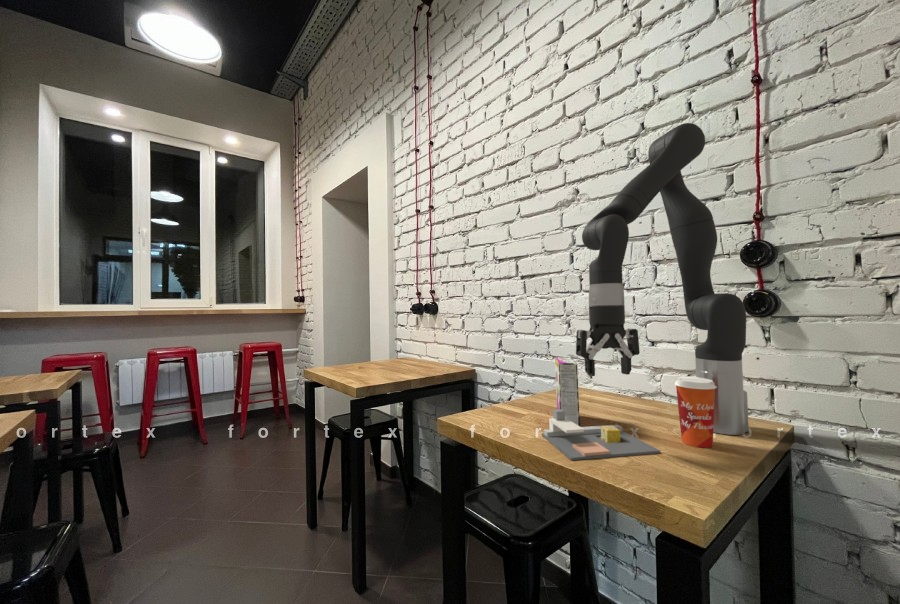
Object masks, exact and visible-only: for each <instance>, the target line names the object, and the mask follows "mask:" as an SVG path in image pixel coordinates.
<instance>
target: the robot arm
mask: <svg viewBox="0 0 900 604" xmlns="http://www.w3.org/2000/svg"><path fill="white" fill-rule="evenodd" d="M705 145H706V137H705V134H704V130H702V128H701V127H700V126H698V125H697V124H695V123H691V122H684V123H681V124H679V125H677V126H675V127H673V128H671V129H670V130H669V131H667V132H666V133H664V134H662V135H661V136H660V137H658V138H657V139H655V140H653V141H652V143H651V144H650V145H649V148H648V150H647V151H648V152H647V156H648V162H649V165H647V166H646V167H645V168H644V169H642V170H641V171H640V172H639V173H638V174H637V175H635V176H634V177H633V178H632V179H631V180H630V181H629V182H628V183H627V184H625V185H624V187H623V188H621V190H620V191H619V193H618V194H617V195H616V196H615V197H614V198H613V199H612V201H611V202H610V203H609V204H608V205H607V206H606V207H605V208H603V209H602V210H601V211H599V212H598V213H597V214H596V215H595V216H594V217H592V218H591V219H590V220H589V221H588V222H587V224H585V227H584V228H583V231H582V233H581V234H582V235H581V239H582V240H581V241H582V244H583V245H584V247H586V248H587V249H589V250H591V251H598V256H597V257H596V258H595V259H594V260H592V261H591V262H590V264H589V265H588V268H589V269H588V271H589V272H588V280H589V287H588V289H589V290H588V317H589V318H588V319H589V321H588V322H589V330H585V329H577V331H576V343H575V355H576V356H577V357H581V358H583V359H584V373H586V374H587V376H590V377H594V376H596V366H595V365H596V363H595V356H596V355H597V354H598V353H599V352H600V351H601V349H604V350H606V349H615V350H616V351H618V353H619V354H620V371H621V372H620V373H621V374H622V375H626V376H627V375H630V374H631V372H632V357H634V356H638V355H640V343H639V342H640V341H639V331H638V329H636V328H627V329H625V323H626V314H625V313H626V307H625V306H626V305H625V291H624V284H623V283H624V282H623V281H624V280H623V263H624V259H625V256H626V251H627V247H628V243H629V236H630V230H629V225H630V224H631V223H633V222H634V221H636V219H638V217H640V215H642V213H643V212H644V210H645V209H646V208H647V207H648V206H649V205H650V203H652V202H653V200H654V199H655V197H656V196H657V195H658V194H659V193H660V196H661V200H662V204H663V206H664V210H665V214H666V218H667V223H668V227H669V231H670V232H669V233H670V236H671V240H672V245H673V248H674V251H675V254H676V259H677V265H678V269H679V273H680V278H681V283H682V284H681V285H682V290H683V300H684V308H685V313H686V317H687V319H688V321H689V323H690V324H691V325H692V326H693V327H694V328H696V329H698V330H702V331H707V335H706V336H707V338H706V339H705V341H704V342H702V343H701V344H699V345H697V346H696V347H695V350H694V355H695V357H694V359H695V360H694V361H695V377H698V378H705V379H710V380H712V381H713V382H714V383H715V384H714V385H715V386H717V388H715V394H714V428H713V433H715V434H721V435H730V436H733V435H734V436H738V435H744V434H745V433H746V432H749V431H750V430H749V428H750V427H749V403H748V402H749V401H748V392H747V391H746V390H744V375H743V374H744V373H743V352H744V350H745V348H746V343H747V342H746V341H747V313H746V312H747V311H746V306H745V304H744V303H743V301H742V300H741V298H740V297H739V296H737V295H736V294H733V293H727V292H725V293H723V292H722V293H715V290H714V288H713V283H712V277H711V270H712V264H713V261H714V257H715V254H716V249H717V246H718V232H717V229H716V225H715V221H714V216H713V214H712V212H711V210H710V209H709V207H708V206H707V205H706V204H705V203H704V202H703V201H702V200H700V199H699V198H698V197H697V196H696V195H695V194H693V193H692V192H691V191H690V190H689V188H688V187H687V186H686V183H685V180H684V177H683V175H682V170H683V169H684V168H685V167H686V166H688V165H689V164H691V162H693V161H695V159H697V158H698V156H700V155H701V154H702V152H703V150H704V149H705ZM589 337H590V339H591V340H590V342H589V344H588V343H587V341H588V339H589ZM624 338H626V341H627V343H626V342H625V340H624ZM587 344H588V345H587Z"/></svg>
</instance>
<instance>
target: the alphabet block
mask: <svg viewBox="0 0 900 604" xmlns="http://www.w3.org/2000/svg"><path fill="white" fill-rule="evenodd" d="M600 426H601V437H600V439H601V440H602V441H604V442H606V443H617V442H621V440H620V430H618V429H617V428H615V427H614V426H604V425H600Z"/></svg>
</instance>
